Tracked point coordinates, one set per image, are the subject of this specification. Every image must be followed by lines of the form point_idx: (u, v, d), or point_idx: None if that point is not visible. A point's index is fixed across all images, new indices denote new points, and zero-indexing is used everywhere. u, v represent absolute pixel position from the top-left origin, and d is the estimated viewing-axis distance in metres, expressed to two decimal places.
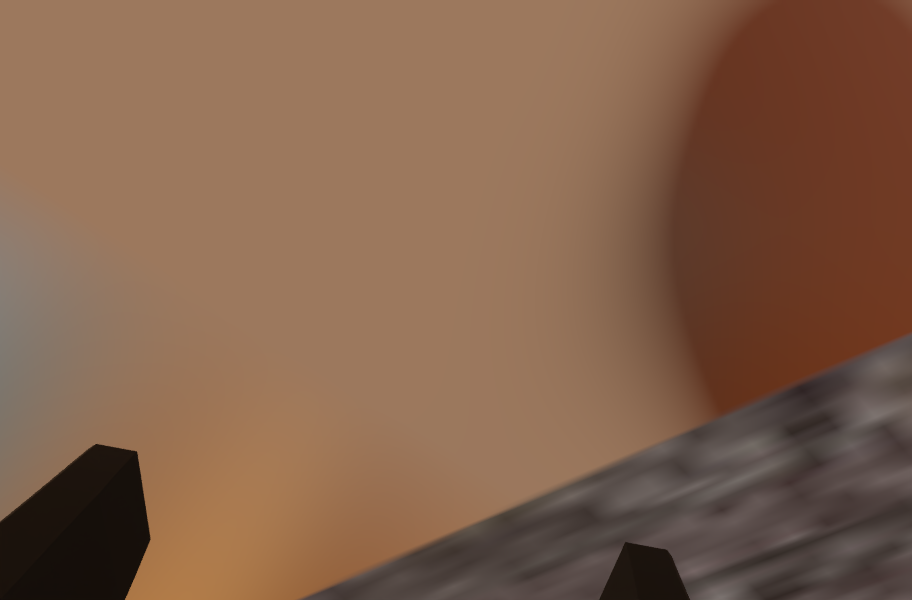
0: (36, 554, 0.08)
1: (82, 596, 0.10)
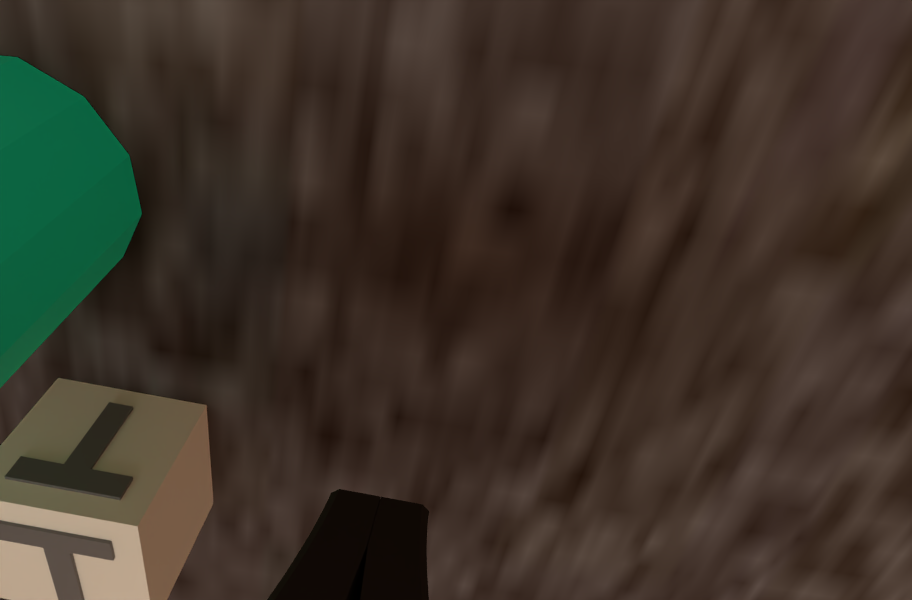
0: None
1: None
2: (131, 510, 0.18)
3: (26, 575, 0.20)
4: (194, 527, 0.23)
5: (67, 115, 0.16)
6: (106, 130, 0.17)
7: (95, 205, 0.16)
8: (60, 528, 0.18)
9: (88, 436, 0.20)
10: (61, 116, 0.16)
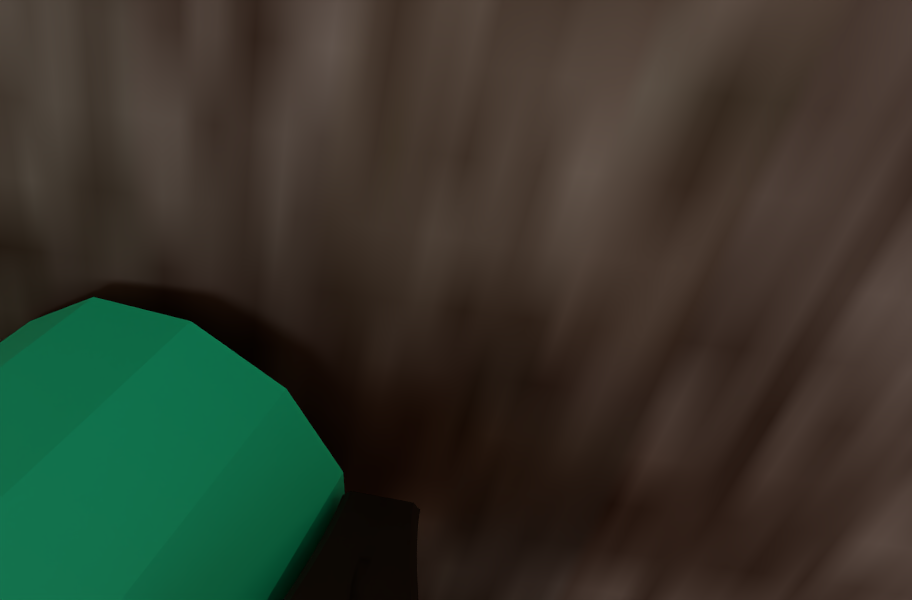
0: None
1: None
2: None
3: None
4: None
5: (258, 438, 0.09)
6: (313, 436, 0.10)
7: (285, 593, 0.09)
8: None
9: None
10: (249, 445, 0.09)
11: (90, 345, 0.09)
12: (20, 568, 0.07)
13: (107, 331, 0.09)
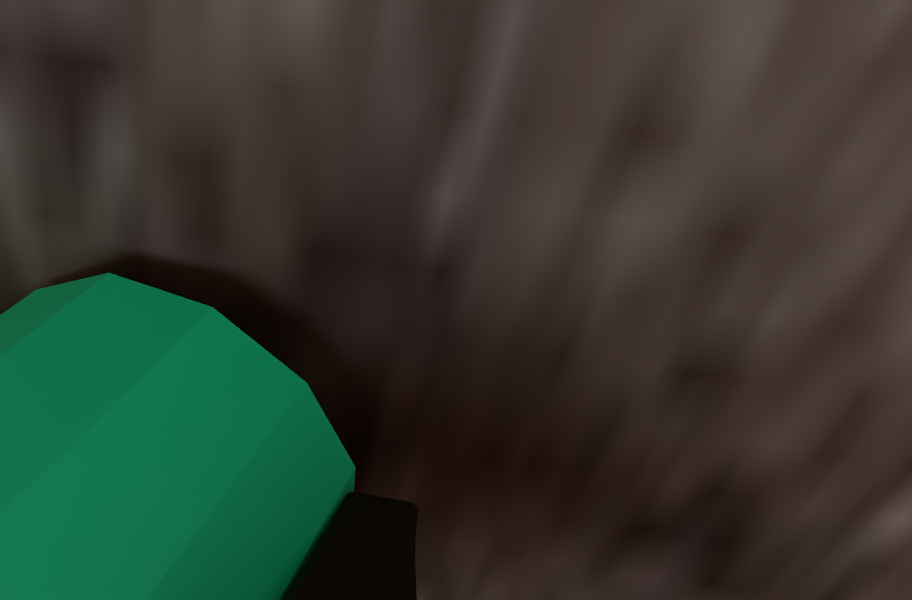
0: None
1: None
2: None
3: None
4: None
5: (278, 434, 0.09)
6: (329, 429, 0.10)
7: None
8: None
9: None
10: (270, 442, 0.09)
11: (108, 327, 0.09)
12: (44, 568, 0.07)
13: (125, 312, 0.09)
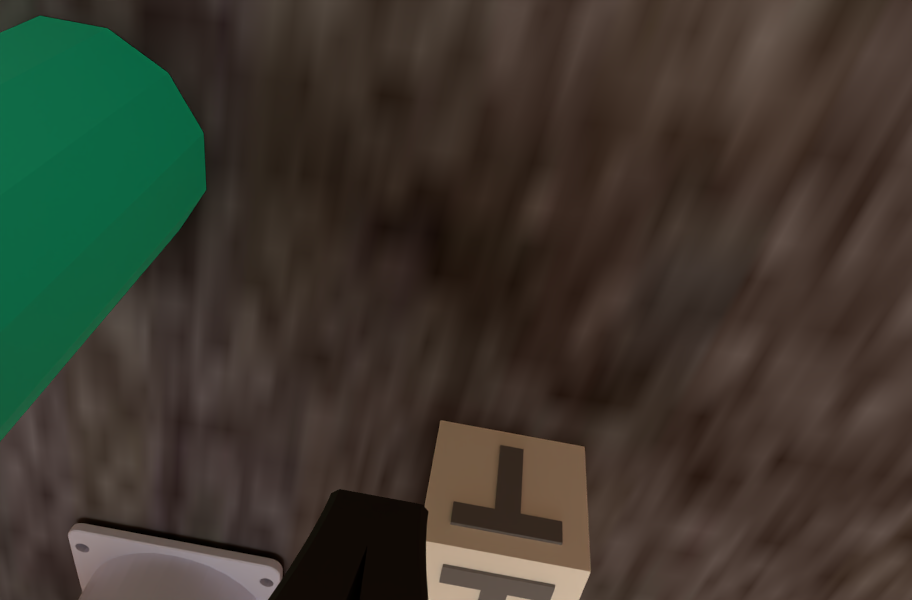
0: None
1: None
2: (576, 555, 0.19)
3: None
4: None
5: (154, 90, 0.16)
6: (184, 107, 0.17)
7: (175, 179, 0.17)
8: (507, 572, 0.19)
9: (501, 480, 0.21)
10: (150, 91, 0.16)
11: (48, 31, 0.16)
12: (44, 99, 0.14)
13: (56, 27, 0.16)
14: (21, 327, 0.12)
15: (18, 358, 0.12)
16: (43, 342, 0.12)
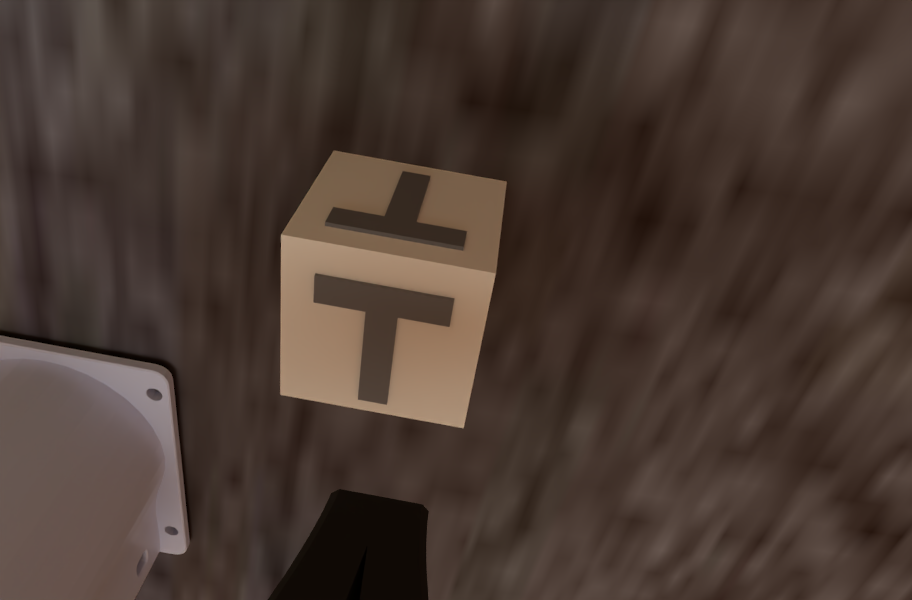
0: None
1: None
2: (480, 259, 0.15)
3: (327, 358, 0.17)
4: None
5: None
6: None
7: None
8: (394, 283, 0.15)
9: (397, 195, 0.17)
10: None
11: None
12: None
13: None
14: None
15: None
16: None
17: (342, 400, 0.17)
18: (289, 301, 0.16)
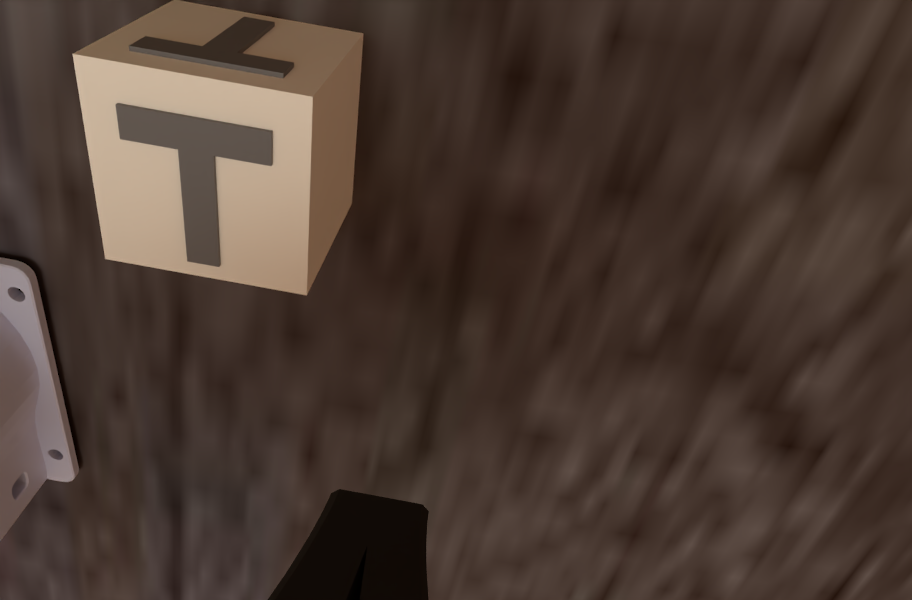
0: None
1: None
2: (299, 85, 0.14)
3: (147, 211, 0.15)
4: (340, 209, 0.18)
5: None
6: None
7: None
8: (205, 113, 0.14)
9: (226, 33, 0.15)
10: None
11: None
12: None
13: None
14: None
15: None
16: None
17: (172, 264, 0.16)
18: (95, 139, 0.14)
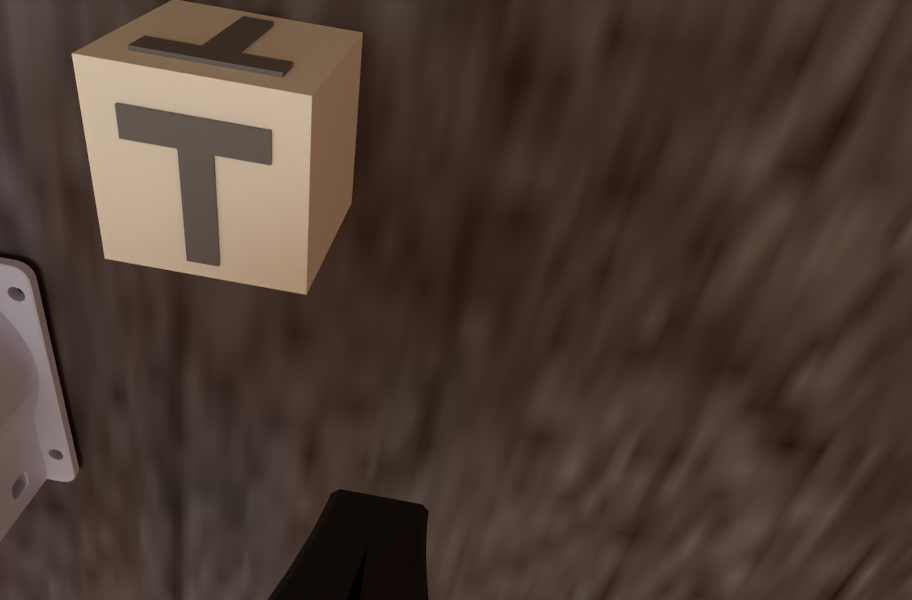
0: None
1: None
2: (298, 85, 0.14)
3: (147, 210, 0.15)
4: (340, 208, 0.18)
5: None
6: None
7: None
8: (204, 112, 0.14)
9: (225, 32, 0.15)
10: None
11: None
12: None
13: None
14: None
15: None
16: None
17: (172, 263, 0.16)
18: (94, 139, 0.14)
